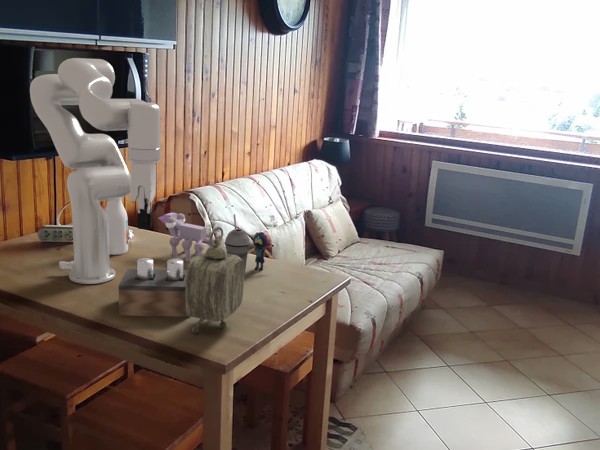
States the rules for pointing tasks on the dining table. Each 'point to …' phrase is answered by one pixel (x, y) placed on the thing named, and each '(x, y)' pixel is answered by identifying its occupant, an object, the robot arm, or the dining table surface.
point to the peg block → (152, 295)
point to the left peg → (145, 269)
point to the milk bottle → (117, 227)
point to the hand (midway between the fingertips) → (144, 227)
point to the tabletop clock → (214, 284)
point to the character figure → (260, 250)
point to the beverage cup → (237, 243)
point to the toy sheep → (185, 234)
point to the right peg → (175, 270)
